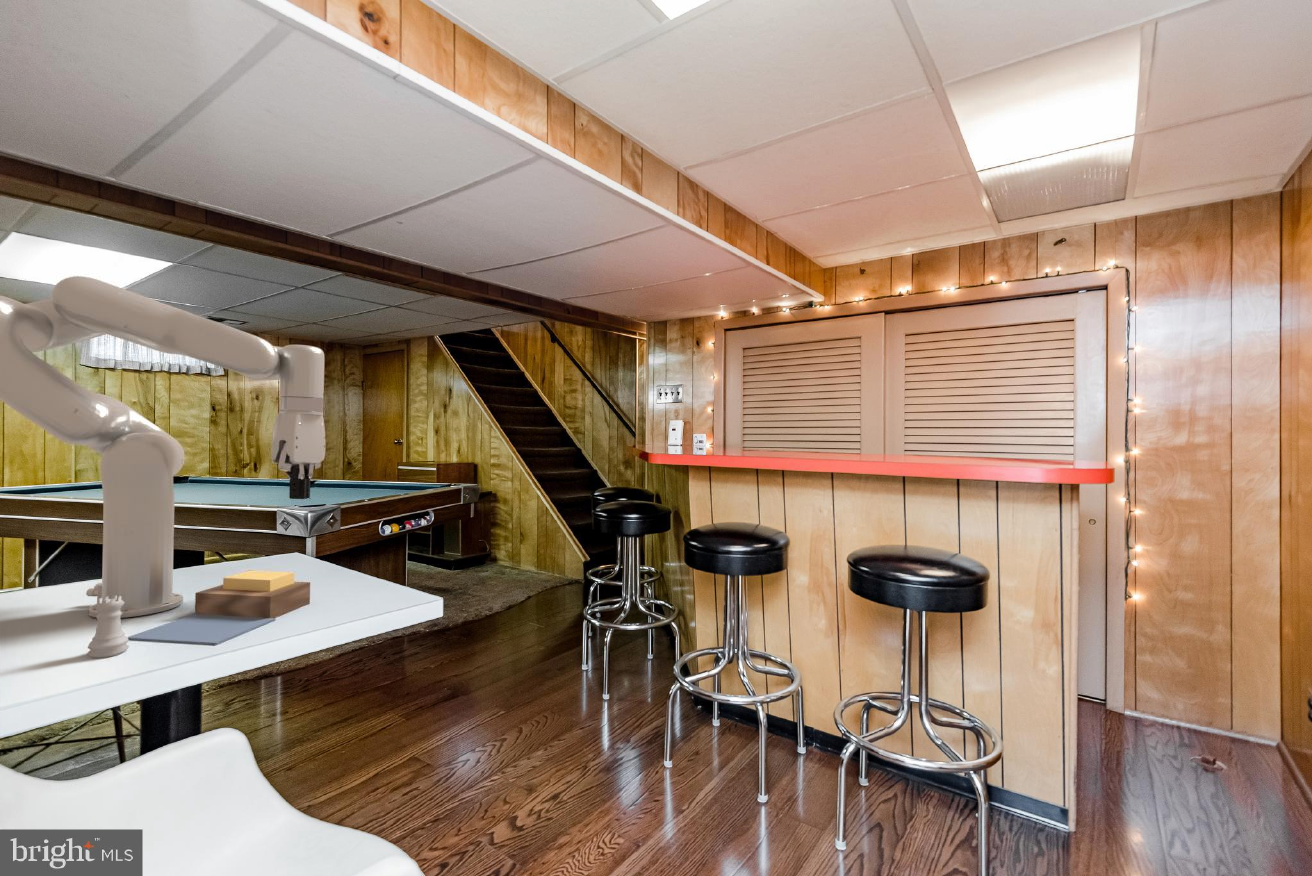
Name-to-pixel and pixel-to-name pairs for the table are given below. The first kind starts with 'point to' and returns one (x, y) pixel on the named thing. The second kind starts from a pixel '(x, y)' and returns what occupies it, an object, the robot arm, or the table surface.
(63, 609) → the table surface
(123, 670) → the table surface
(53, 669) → the table surface
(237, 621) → the mat
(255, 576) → the yellow kitchen sponge
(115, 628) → the rook chess piece
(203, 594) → the wooden block
